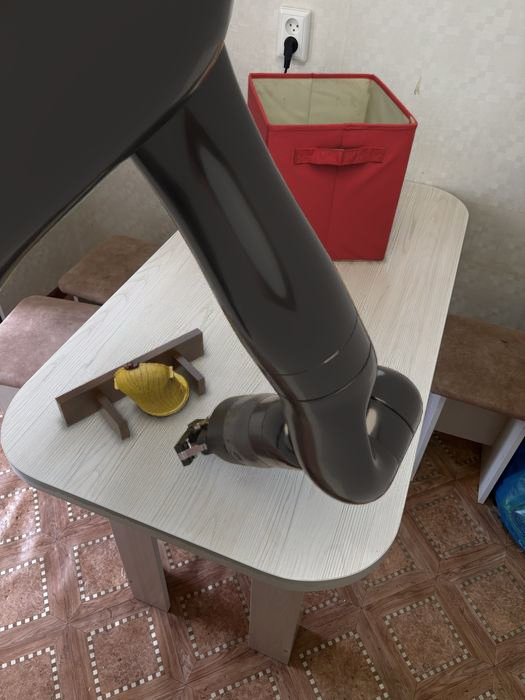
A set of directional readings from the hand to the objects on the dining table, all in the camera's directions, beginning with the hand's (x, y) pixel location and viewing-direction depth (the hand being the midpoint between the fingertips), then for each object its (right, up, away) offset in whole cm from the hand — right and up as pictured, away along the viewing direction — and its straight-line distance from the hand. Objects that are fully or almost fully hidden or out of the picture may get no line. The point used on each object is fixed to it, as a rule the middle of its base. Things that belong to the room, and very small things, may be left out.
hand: (194, 428), depth 67 cm
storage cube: (+20, +38, +48) cm, 64 cm away
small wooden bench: (-8, +3, +9) cm, 13 cm away
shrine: (-6, +1, +8) cm, 10 cm away
